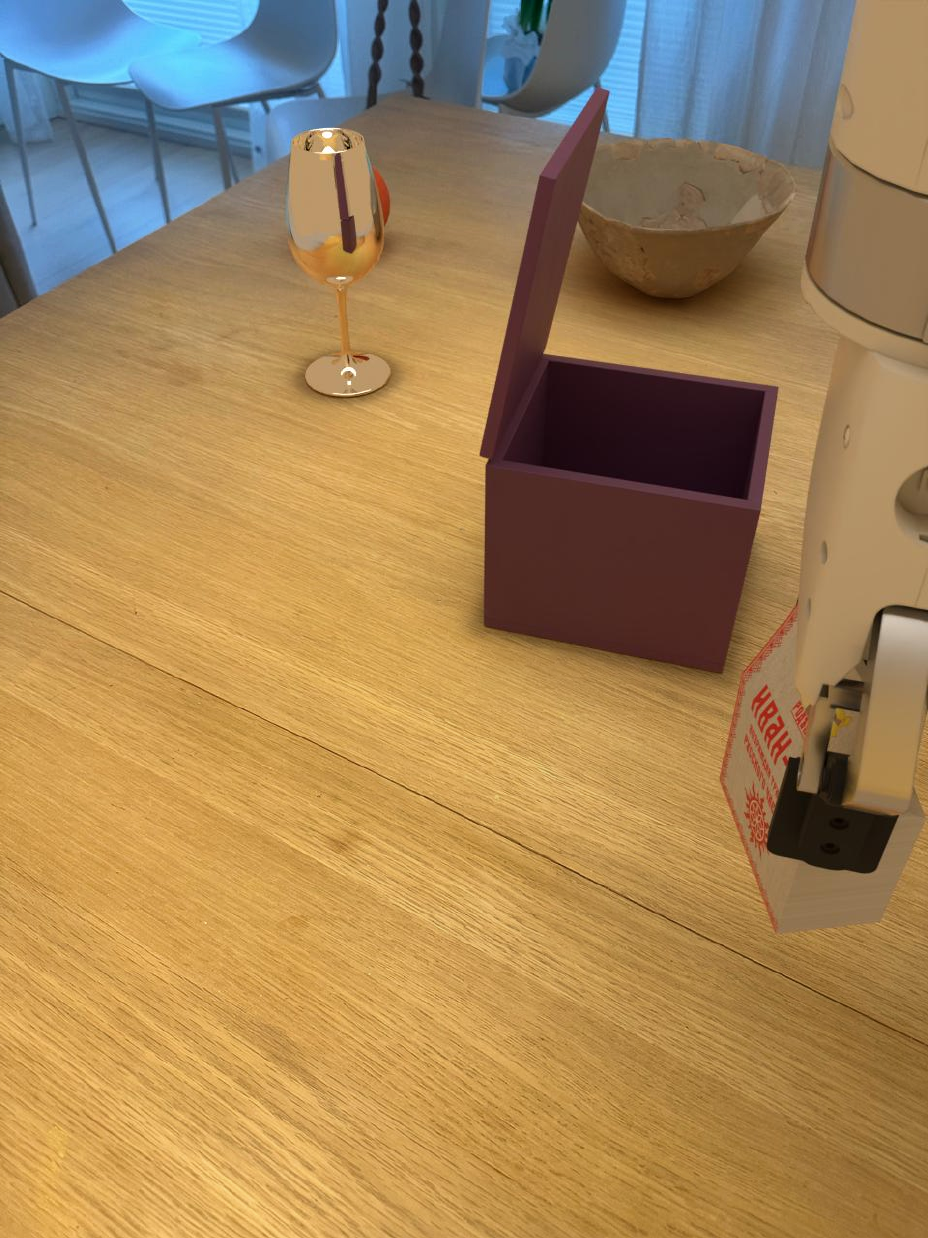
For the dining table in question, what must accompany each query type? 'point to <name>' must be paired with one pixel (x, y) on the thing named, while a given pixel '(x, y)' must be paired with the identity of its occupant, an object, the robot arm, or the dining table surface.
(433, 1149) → the dining table surface
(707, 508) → the purple box
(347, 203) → the wineglass
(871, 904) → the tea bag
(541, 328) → the purple box lid
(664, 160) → the ceramic bowl
